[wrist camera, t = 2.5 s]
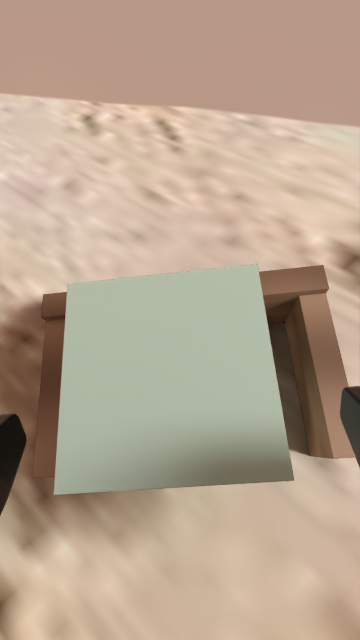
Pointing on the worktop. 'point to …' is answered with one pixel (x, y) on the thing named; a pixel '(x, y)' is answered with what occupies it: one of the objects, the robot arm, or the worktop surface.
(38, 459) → the walnut bay
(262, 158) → the worktop surface
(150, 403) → the block
